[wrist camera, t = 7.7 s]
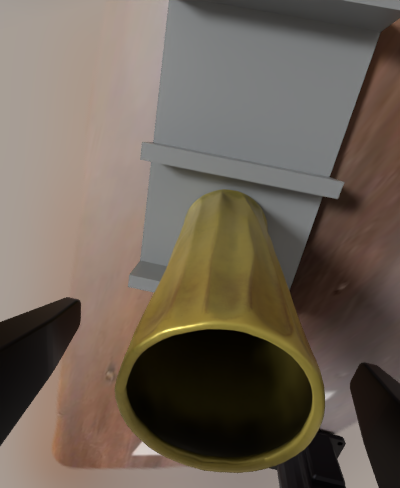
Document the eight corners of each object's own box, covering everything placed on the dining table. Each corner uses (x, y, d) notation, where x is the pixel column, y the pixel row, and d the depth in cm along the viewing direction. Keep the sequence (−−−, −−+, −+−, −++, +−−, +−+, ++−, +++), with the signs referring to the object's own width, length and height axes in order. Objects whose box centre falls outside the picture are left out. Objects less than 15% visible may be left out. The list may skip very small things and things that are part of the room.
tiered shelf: (283, 297, 22) (291, 322, 19) (142, 267, 23) (128, 286, 20) (380, 16, 15) (418, -16, 12) (174, -20, 16) (161, -60, 13)
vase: (167, 219, 20) (47, 372, 7) (237, 170, 18) (260, 248, 5) (213, 281, 22) (189, 506, 8) (283, 241, 20) (393, 446, 7)
